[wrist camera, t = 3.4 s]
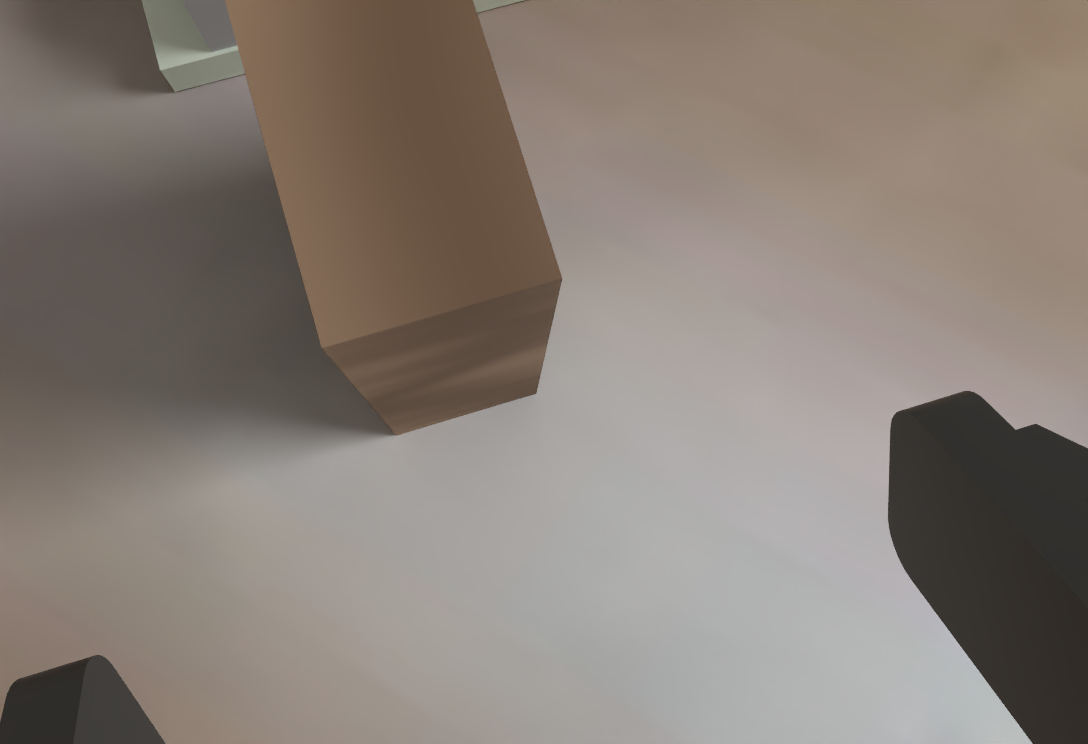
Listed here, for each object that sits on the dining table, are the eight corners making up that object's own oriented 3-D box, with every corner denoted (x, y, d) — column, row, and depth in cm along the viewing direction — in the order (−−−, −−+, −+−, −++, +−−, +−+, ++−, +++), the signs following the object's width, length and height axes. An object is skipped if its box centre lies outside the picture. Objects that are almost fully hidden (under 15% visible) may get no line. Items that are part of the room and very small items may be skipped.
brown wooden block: (396, 435, 21) (321, 348, 12) (319, 167, 22) (198, -93, 13) (536, 393, 21) (562, 278, 13) (454, 130, 22) (425, -148, 13)
